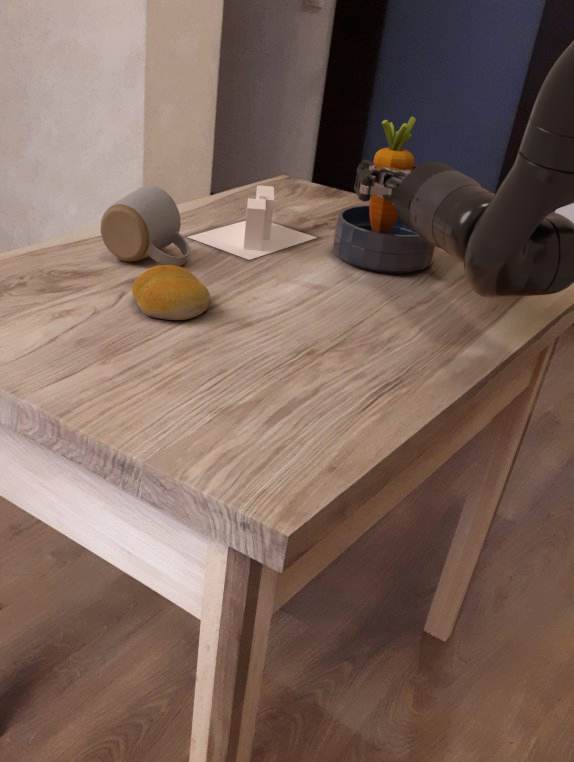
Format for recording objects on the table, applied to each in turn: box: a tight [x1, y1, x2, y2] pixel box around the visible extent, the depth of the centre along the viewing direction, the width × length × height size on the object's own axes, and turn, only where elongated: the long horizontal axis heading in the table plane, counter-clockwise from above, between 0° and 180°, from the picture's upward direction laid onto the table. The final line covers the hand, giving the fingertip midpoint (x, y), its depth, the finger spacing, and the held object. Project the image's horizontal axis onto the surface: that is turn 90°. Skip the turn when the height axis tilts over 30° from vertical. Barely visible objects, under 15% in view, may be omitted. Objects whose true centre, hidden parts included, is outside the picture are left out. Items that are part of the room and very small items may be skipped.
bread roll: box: [131, 264, 211, 321], centre depth 87 cm, size 8×9×4 cm
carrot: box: [368, 116, 417, 234], centre depth 99 cm, size 5×5×15 cm
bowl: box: [332, 204, 438, 274], centre depth 104 cm, size 13×13×5 cm
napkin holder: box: [187, 184, 318, 261], centre depth 108 cm, size 15×11×6 cm
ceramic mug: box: [100, 185, 191, 267], centre depth 98 cm, size 11×8×8 cm
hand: (383, 168), depth 100 cm, fingers closed on carrot, 5 cm apart
